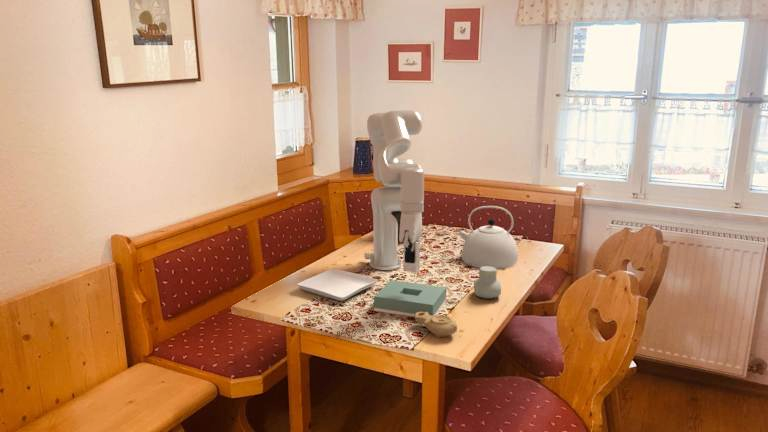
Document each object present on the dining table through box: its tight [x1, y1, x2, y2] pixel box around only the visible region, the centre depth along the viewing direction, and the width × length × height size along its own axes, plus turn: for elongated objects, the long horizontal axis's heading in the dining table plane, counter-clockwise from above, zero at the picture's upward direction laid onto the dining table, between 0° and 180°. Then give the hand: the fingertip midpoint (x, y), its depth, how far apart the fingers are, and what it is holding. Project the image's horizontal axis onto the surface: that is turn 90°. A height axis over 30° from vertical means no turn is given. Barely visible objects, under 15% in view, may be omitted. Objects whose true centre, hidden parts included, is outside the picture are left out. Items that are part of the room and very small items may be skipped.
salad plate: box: [296, 268, 378, 302], centre depth 223 cm, size 21×21×3 cm
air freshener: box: [473, 266, 502, 299], centre depth 217 cm, size 11×8×10 cm
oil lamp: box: [414, 312, 458, 338], centre depth 190 cm, size 11×14×5 cm
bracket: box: [402, 239, 421, 273], centre depth 204 cm, size 4×3×10 cm, turn 69°
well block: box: [373, 279, 447, 318], centre depth 209 cm, size 20×16×5 cm
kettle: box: [456, 205, 519, 269], centre depth 253 cm, size 25×23×23 cm
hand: (411, 260), depth 205 cm, fingers closed on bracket, 3 cm apart
